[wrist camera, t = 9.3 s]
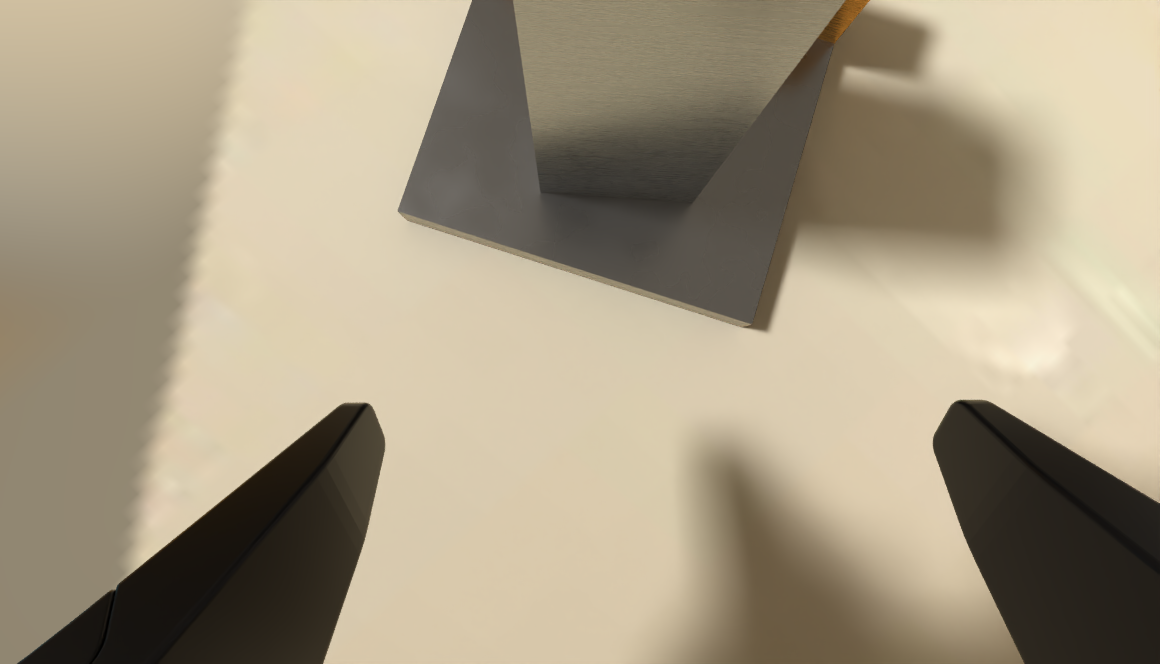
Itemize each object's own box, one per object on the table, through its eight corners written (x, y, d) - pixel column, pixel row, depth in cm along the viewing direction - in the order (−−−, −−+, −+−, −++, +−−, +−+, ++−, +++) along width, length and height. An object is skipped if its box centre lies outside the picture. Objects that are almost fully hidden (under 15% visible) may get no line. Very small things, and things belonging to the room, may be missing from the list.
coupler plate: (741, 327, 18) (791, 314, 14) (406, 220, 18) (361, 176, 14) (834, 10, 19) (906, -87, 15) (516, -92, 19) (503, -216, 15)
